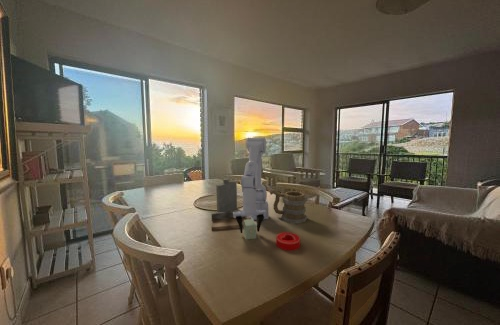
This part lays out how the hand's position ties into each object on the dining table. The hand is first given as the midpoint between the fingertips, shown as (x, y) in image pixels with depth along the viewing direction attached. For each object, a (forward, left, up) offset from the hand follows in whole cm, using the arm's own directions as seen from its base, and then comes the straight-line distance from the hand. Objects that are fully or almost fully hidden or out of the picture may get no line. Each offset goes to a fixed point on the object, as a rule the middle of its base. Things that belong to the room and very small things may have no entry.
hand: (249, 231), depth 91 cm
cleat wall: (+8, -14, -2) cm, 16 cm away
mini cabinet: (0, 0, -2) cm, 2 cm away
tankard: (-24, -16, -2) cm, 29 cm away
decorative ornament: (-14, +11, -2) cm, 18 cm away
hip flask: (+8, -33, -2) cm, 34 cm away
